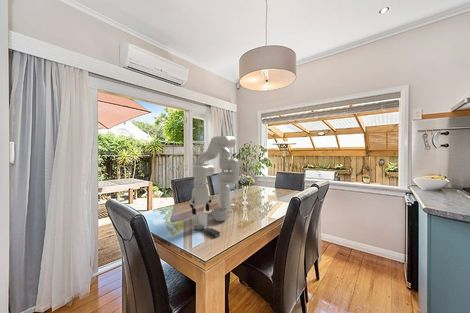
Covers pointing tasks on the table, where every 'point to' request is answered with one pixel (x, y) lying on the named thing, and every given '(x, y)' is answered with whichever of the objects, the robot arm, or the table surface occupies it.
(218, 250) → the table surface
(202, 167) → the robot arm
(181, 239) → the table surface
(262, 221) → the table surface
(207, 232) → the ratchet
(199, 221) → the wood-topped grey cube
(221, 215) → the teacup
